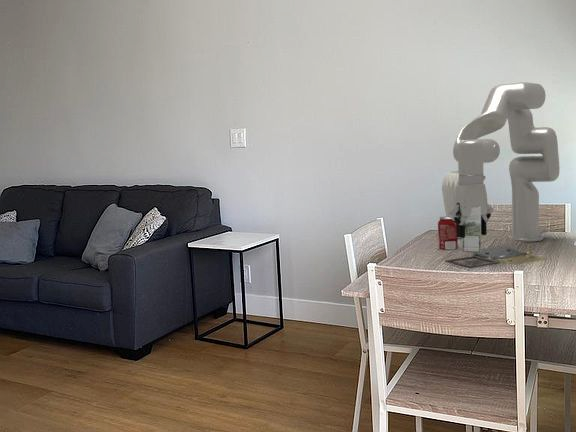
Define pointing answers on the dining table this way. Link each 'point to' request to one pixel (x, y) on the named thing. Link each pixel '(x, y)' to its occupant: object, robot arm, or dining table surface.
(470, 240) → the syrup box
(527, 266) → the dining table surface
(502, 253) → the gray hinge leaf
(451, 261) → the gray rectangular frame
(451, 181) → the vase
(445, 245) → the soda can
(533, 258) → the fixed leaf
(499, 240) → the dining table surface
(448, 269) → the dining table surface
